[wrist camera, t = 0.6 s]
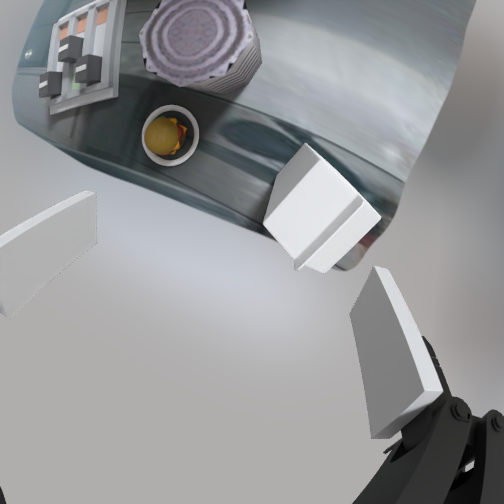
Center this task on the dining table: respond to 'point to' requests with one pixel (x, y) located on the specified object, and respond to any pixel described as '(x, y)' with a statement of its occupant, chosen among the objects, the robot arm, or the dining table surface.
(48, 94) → the breaker far
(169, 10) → the can
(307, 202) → the milk
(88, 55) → the breaker near
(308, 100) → the dining table surface
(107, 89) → the panel
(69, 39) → the breaker mid
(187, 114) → the hamburger
